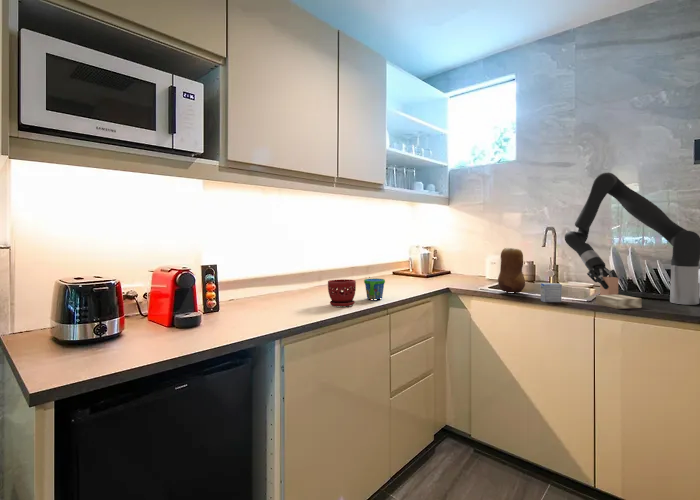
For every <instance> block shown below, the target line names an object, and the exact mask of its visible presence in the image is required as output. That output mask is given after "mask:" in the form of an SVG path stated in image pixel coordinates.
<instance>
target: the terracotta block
mask: <svg viewBox="0 0 700 500" xmlns="http://www.w3.org/2000/svg"><path fill="white" fill-rule="evenodd" d="M602 278H603V279H604V280H603V281H605V282H606V283H607V285H608V286H609V287H608V288H607V289H604V288H603V287H602V285H601V284H600V283H599V295H616V294H619V288H618V284H619V277H618V278H615V277H608V276H607V277H602Z"/></svg>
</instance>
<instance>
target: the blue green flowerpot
mask: <svg viewBox="0 0 700 500" xmlns="http://www.w3.org/2000/svg"><path fill="white" fill-rule="evenodd" d="M363 283H364V286H365V292H366V299H367V300H368V299H380V298H382V299H383V295H384V286H385V283H386V281H385V279H384V278H366V279H364V280H363Z"/></svg>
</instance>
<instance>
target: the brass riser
mask: <svg viewBox="0 0 700 500" xmlns="http://www.w3.org/2000/svg"><path fill="white" fill-rule="evenodd" d="M595 304H596V305H598V306H599V305H600V306H604V307H608V308H612V309H621V310H622V309H641V308H642V298H641V297H635V296H630V295H625V294H619V293H618V294H616V295H600V294H598V295H597V294H596V297H595Z"/></svg>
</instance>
